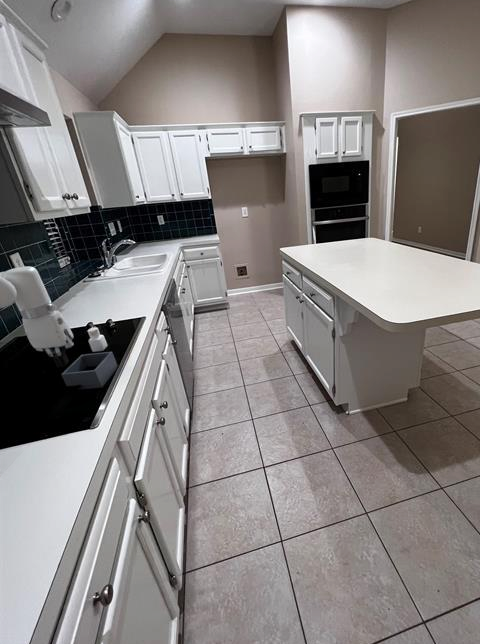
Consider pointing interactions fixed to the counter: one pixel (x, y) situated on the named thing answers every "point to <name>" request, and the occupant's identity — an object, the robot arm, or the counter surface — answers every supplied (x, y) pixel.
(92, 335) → the pepper shaker
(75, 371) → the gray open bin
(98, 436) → the counter surface
